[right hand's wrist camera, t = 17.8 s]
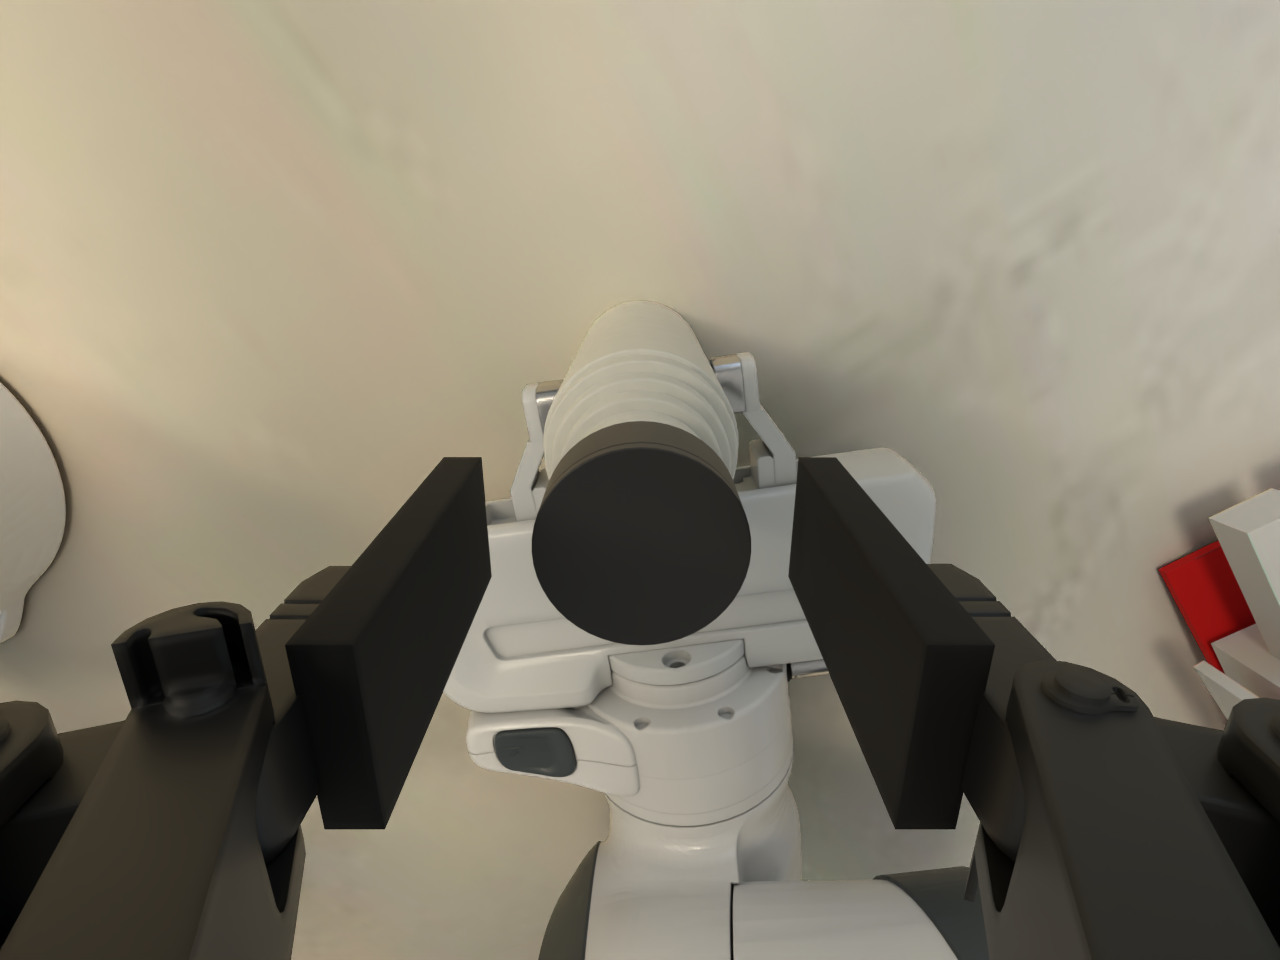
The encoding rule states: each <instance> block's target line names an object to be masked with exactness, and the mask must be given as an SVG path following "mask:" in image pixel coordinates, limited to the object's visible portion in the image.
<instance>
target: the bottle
mask: <svg viewBox="0 0 1280 960" xmlns="http://www.w3.org/2000/svg"><path fill="white" fill-rule="evenodd" d="M633 421H650V422H658V423H663V424H668V425H671V426H674V427H677V428H680V429H683V430H685V431H687V432H689V433H691V434H693V435H694V436H696V437H697V438H699V439H700V440H702V441H703V442H705V443H706V444H707V445H708V446H709V447H710V448H712V449H713V450H714V451H715V453H716V454H717V455H718V456H719V457H720V458H721V460H722V461H723V463H724V464H725V466H726V467H727V469H728V470H729V473H730V475H731V477H732V479H734V475H735V471H736V467H737V457H738V446H739V443H738V429H737V423H736V419H735V416H734V413H733V409H732V407H731V405H730V403H729V401H728V399H727V397H726V395H725V393H724V391H723V389H722V387H721V385H720V383H719V381H718V379H717V377H716V375H715V373H714V371H713V369H712V367H711V365H710V363H709V361H708V359H707V357H706V355H705V353H704V352H703V350H702V348H701V346H700V344H699V342H698V340H697V338H696V336H695V334H694V332H693V330H692V329H691V327H690V326H689V324H688V323H687V322H686V321H685V320H684V318H682V317H681V316H680V315H679V314H678V313H677V312H675V311H674V310H672V309H671V308H668V307H666V306H664V305H662V304H659V303H656V302H651V301H630V302H626V303H622V304H619V305H617V306H614V307H613V308H611V309H609V310H607V311H606V312H605V313H603V314H602V315H601V316H600V317H599V318H598V319H597V320H596V321H595V322H594V323H593V324H592V326H591V327H590V329H589V330H588V332H587V334H586V336H585V338H584V340H583V342H582V344H581V346H580V348H579V350H578V352H577V354H576V356H575V358H574V360H573V362H572V364H571V366H570V368H569V370H568V372H567V374H566V376H565V378H564V380H563V382H562V384H561V386H560V388H559V390H558V392H557V394H556V396H555V398H554V400H553V402H552V405H551V407H550V409H549V411H548V415H547V419H546V422H545V428H544V435H543V449H544V459H545V467H546V472H547V475H548V479H549V480H550V478H551V476H552V474H553V472H554V469H555V468H556V466H557V465H558V463H559V462H560V460H561V459H562V458H563V457H564V456H565V454H566V453H567V452H568V451H569V450H570V449H571V448H572V447H573V446H575V445H576V444H577V443H578V442H579V441H581V440H582V439H584V438H585V437H587V436H588V435H590V434H592V433H594V432H596V431H598V430H600V429H602V428H605V427H608V426H611V425H614V424H619V423H624V422H633Z"/></svg>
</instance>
